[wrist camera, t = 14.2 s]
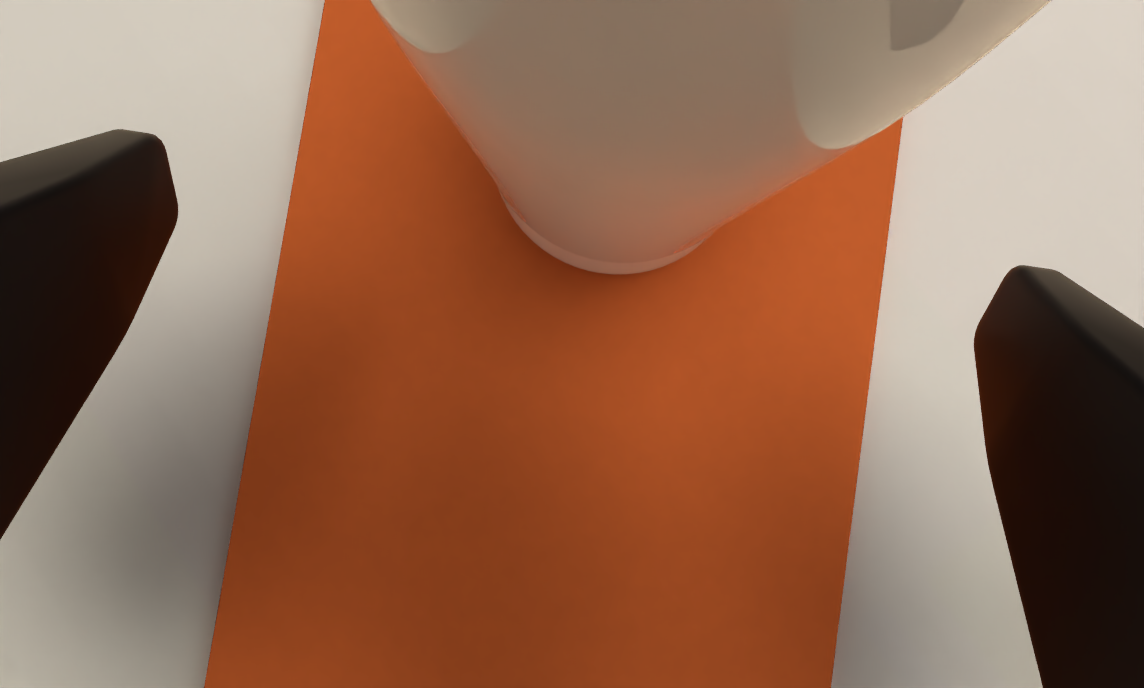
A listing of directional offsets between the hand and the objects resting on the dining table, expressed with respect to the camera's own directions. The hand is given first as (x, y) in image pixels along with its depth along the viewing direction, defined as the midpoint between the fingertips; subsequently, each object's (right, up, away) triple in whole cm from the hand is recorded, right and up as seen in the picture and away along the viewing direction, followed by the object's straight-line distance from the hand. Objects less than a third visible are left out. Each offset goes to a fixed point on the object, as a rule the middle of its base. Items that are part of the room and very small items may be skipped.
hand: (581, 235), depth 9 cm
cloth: (0, -3, +9) cm, 10 cm away
